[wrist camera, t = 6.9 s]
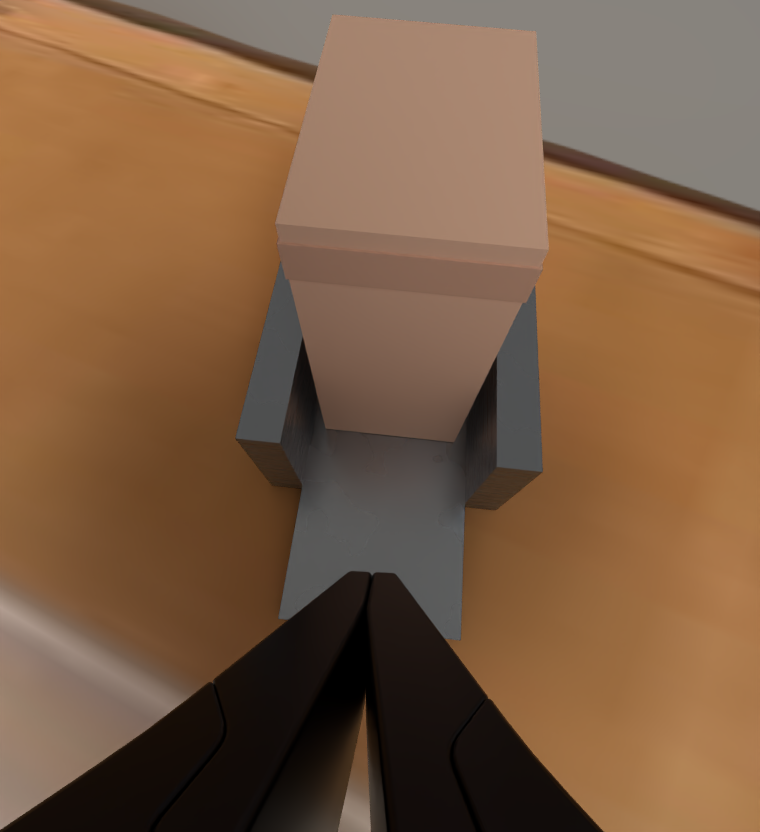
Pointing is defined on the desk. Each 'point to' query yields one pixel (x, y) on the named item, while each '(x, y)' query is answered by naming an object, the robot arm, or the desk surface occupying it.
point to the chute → (388, 469)
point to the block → (413, 218)
